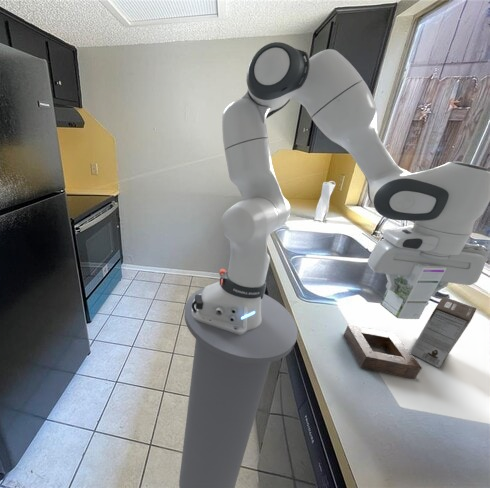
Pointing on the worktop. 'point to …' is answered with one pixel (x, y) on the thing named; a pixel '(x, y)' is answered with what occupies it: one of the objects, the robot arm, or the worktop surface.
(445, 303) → the coffee box
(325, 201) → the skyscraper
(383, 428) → the worktop surface
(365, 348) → the socket pad
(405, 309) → the syrup box
